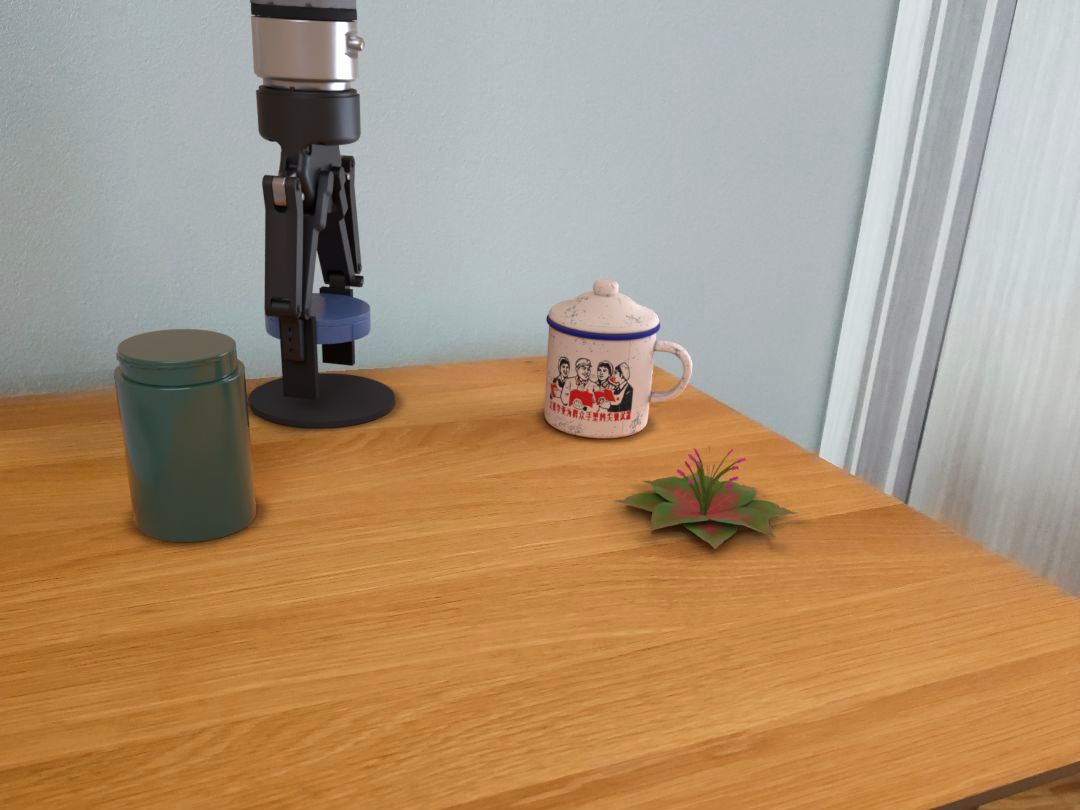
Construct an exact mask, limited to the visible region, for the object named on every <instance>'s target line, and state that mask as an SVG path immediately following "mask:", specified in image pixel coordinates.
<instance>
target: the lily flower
mask: <svg viewBox="0 0 1080 810" xmlns="http://www.w3.org/2000/svg"><path fill="white" fill-rule="evenodd" d="M710 447H711V446H708V451H711V450H710ZM693 450H694V453H695V455H696V457H697V458H698V460H697V458H696V457H694V455H692V454H690V453H688V454H687V456H688V458H689V459H690V460H691V461H692V462H694V463H695V465H696V472H695V473H694V472H693V470H692V467H691V465H690V464H689V462H688V461H687V460H684V465H685V467H686V468H687V469H688V470H689V471H690V475H686V474H685V472H683V471H682V470H681V469H680V468H678V469H676V473H677V474H678V475H680V476H681V477H678V476H674V475H673V476H667V477H662V478H658V479H653V480H642V482H644V483H646V484H648V485H650V486H651V488H652V489H653V490H654V492H638V493H635V494H631V495H629V496H627V497H625V498H624V499H618V500H613V502H614V503H620V504H622V505H628V506H631V507H633V508H634V507H635V508H638V509H641V510H645V511H648V512H651V519H650V522H651V525H650V526H649V528H648V530H647V532H651V531H654V530H659V529H664V528H667V527H672V526H677V525H681V524H683V526H684V527H685V528H686V530H689V531H691V532H692V533H693V534H695V536H697V537H699V539H701V540H702V541H704V542H705V543H708V544H710V546H711V547H712V548H713V549H714V550H716V549H717V548H718V547H720V546H721V545H722V544H723V543H724V541H727V540H729V539H730V538H731V537H732V536H733V535H735V534H736V533H737V530H738V527H737V526H736V525H738V526H744V527H747V528H749V529H751V530H754V531H757V532H759V533H762V534H764V535H767V536H769V537H771V538H773V539H775V540H778V539H777V537H776V535H775V534H774V531H773V528H772V526H770V520H769V519H773V518H778V517H783V516H788V515H796V514H799V512H796V511H792V510H791V509H788V508H785V507H781V506H780V505H779V504H777V503H774V502H772V501H769V500H763V499H754V498H755V497H757V493H758V490H757V489H758V487H755V486H754V487H753V486H749V485H745V484H740V483H738V482H735V481H737V480H739V476H733V477H731V478H728V480H723V481H719V480H720V478H721V477H722V476H724V475H725V474H726V473H728V472H730V471H731V470H732V471H734V470H739V466H738V465H736V464H740V463H742V462H746V457H742V458H739V459H736V461H735V462H733V463H731V464H730V465H729V466H727V467H725V468H724V469H723V470H721V471H720V472H719V473H718V471H719V469H720V468H721V466H722V465H723V463H724V462H725V460H726V458H727V457H728V456H730V455H731V453H733V452H734V448H732V449H730V450H729V451H728V452H727V454H726V455H725V456H724V458H723V459H722V460H721V462H720V464H718V467H717V468H716V470H715V466H716V464H713V467H712V469H711V473H710V475H709V466H706V474H707V475H705V468H704V466H703V461H702V459H701V457H700V452H698V450H697V448H693ZM714 470H715V471H714ZM713 472H714V473H713ZM717 473H718V474H717ZM716 474H717V475H716Z"/></svg>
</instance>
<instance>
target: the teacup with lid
mask: <svg viewBox="0 0 1080 810" xmlns="http://www.w3.org/2000/svg"><path fill="white" fill-rule="evenodd" d="M592 289H593V290H591V291H586V292H583V293H581V294H579V295H578V296H576V297H574V298H572V299H567V300H562V301H559V302H557V303H556V304H554V305H552V306H551V307H550V309H549V310H548V312H547V315H546V319H545V320H546V324H547V325H548V334H547V335H548V338H547V355H546V372H545V390H544V391H545V392H544V393H545V395H544V409H543V410H544V412H543V414H544V418H545V420H546V422H547V423H548V424H549V425H550V426H552V427H553V428H554V429H556V430H559V432H563V433H566V434H568V435H569V434H570V435H573V436H576V437H582V438H591V439H617V438H618V439H619V438H624V437H628V436H632V435H634V434H637V433H639V432H640V431H642V430H644V428H646V426H647V424H648V420H649V411H650V403H667V402H670V401H673V400H674V399H676V398H677V397H679V396H680V395H681V394H682V393H683V392H684V390H685V389H686V388H687V386H688V385H689V382H690V380H691V377H692V373H693V361H692V358H691V355H690V353H689V352H688V351H687V349H685V347H683V346H682V345H680V344H678V343H675V342H672V341H666V340H657V333H658V332H659V331H660V329H661V323H660V319H659V316H658V314H657V313H656V312H655V310H653V309H651V308H649V307H648V306H645V305H643V304H640V303H637V302H635V300H633V299H632V298H631V297H630V296H628V295H626V294H624V293H621V292H619V289H620V287H619V283H618V282H617V281H616V280H614V279H609V278H599V279H596V280H595V281H594V282H593V286H592ZM656 352H662V353H668V354H672V355H674V356H675V357H677V358H678V359H679V360H680V362H681V363H682V368H683V370H682V371H683V372H682V376H681V378H680V380H679V382H678V383H677V384H676V385H675V386H674V387H672V388H671V389H669V390H665V391H652V382H653V373H654V372H653V371H654V362H655V353H656Z"/></svg>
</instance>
